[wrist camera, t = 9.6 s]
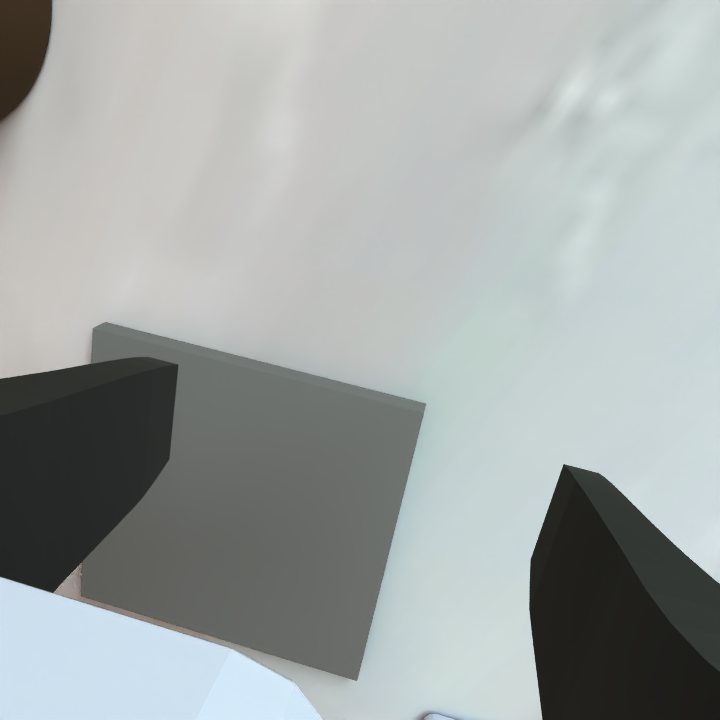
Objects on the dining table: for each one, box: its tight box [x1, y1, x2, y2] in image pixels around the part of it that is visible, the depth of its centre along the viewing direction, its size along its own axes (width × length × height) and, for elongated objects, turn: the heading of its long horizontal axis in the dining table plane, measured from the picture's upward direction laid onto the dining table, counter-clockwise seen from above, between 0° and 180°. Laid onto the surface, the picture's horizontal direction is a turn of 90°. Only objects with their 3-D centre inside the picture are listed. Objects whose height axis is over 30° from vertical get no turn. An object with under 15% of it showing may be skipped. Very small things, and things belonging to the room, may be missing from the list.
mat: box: [81, 322, 426, 681], centre depth 25 cm, size 12×12×1 cm
